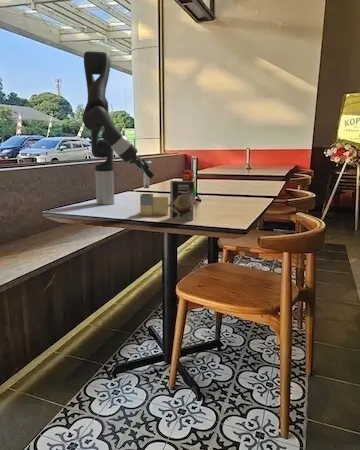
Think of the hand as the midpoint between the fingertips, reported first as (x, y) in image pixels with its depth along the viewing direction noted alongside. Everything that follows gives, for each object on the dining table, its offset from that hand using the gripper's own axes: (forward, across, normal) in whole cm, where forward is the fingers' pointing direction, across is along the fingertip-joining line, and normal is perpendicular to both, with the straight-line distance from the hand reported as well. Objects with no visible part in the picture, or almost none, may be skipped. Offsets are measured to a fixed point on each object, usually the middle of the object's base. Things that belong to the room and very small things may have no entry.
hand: (150, 176), depth 162 cm
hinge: (+14, +1, +10) cm, 17 cm away
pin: (+2, 0, +5) cm, 5 cm away
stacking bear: (+34, +24, -10) cm, 43 cm away
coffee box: (+17, -16, +7) cm, 24 cm away
